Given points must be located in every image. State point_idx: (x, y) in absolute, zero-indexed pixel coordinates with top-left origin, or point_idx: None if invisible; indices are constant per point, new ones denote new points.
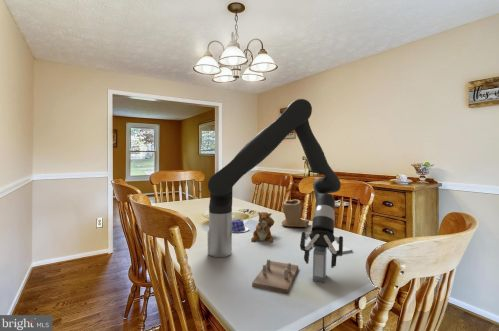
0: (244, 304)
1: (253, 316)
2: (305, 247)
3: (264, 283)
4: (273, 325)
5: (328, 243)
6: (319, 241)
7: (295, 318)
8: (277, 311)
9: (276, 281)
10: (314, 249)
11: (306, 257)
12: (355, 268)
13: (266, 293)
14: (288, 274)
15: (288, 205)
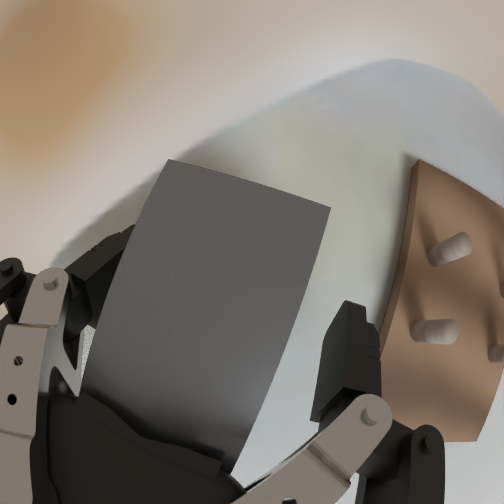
0: (492, 135)
1: (458, 93)
2: (388, 425)
3: (493, 210)
4: (412, 62)
5: (27, 371)
6: (146, 492)
7: (370, 67)
8: (418, 94)
9: (465, 226)
10: (304, 262)
11: (362, 324)
12: None
13: (470, 176)
14: (424, 303)
15: None
